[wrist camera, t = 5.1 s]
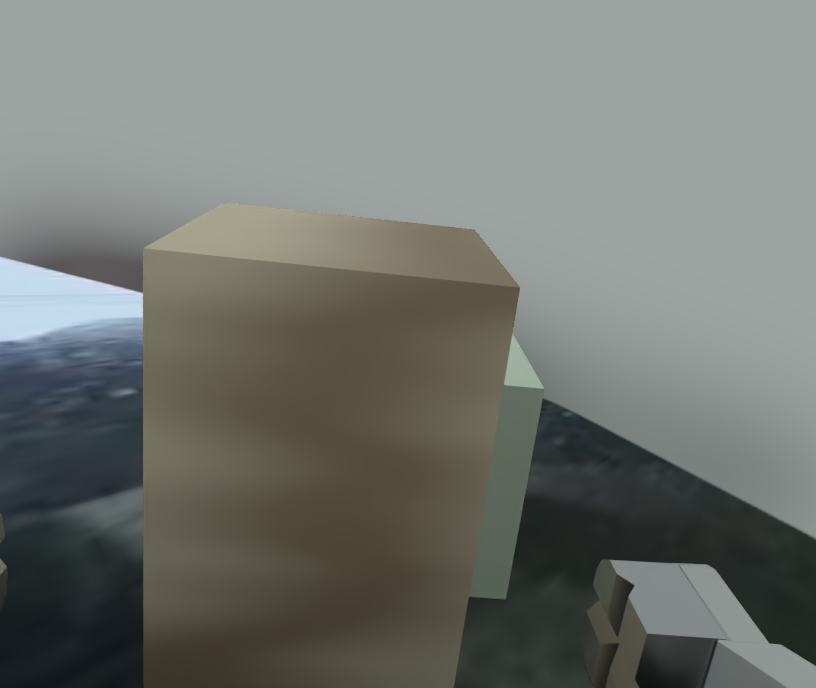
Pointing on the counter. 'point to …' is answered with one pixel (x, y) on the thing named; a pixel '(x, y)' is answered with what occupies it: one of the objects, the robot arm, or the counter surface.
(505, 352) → the maple pillar
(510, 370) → the sage block
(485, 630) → the counter surface
